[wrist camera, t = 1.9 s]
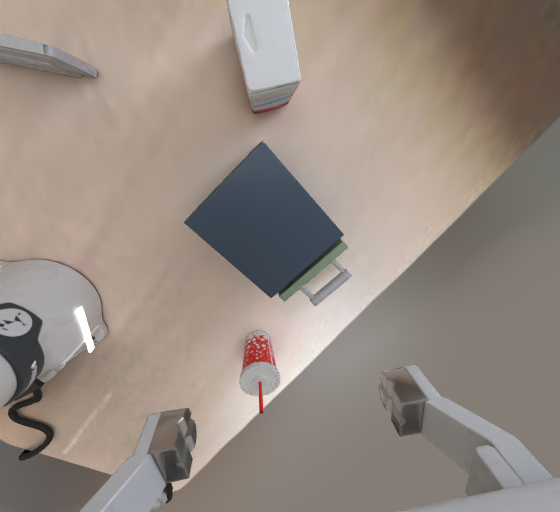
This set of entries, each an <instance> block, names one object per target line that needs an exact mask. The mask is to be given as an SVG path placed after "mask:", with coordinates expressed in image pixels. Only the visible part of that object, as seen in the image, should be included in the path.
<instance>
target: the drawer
mask: <svg viewBox="0 0 560 512" xmlns="http://www.w3.org/2000/svg"><path fill="white" fill-rule="evenodd" d="M347 248H348V247H347V245H346V244H345V243H344V242H343V241H342V240H341V239H339V240H338V241H336V242H335V243H334V244H333V245H332V246H331V247H330V248H328V249H327V250H326V251H325V252H324V253H323V254H322V255H320V256H319V257H318V258H317V259H316V260H315V261H313V262H312V263H311V264H310V265H309V266H308V267H307V268H305V269H304V270H303V271H302V272H301V273H300V274H299V275H297V276H296V277H295V278H294V279H293V280H292V281H290V282H289V283H288V284H287V285H286V286H285V287H284V288H282V289H281V290H280V291H279V292H278V293H279V297H280V298H281V299H282V300H284V301H286V300H287V299H288V298H289V297H291V296H292V295H293V294H294V293H295V292H296V291H298V290H299V289H300V290H301V291H302V292H303V293H305V294H306V295H307V296H308V297H309V298H310V301H311V302H312V303H313V305H315V306H316V305H318V304H319V303H320V302H321V301H322V300H324V299H325V298H326V297H327V296H328V295H330V294H331V293H332V292H333V291H334V290H336V289H337V288H338V287H339V286H341V285H342V284H343V283H344V282H345V281H347V280H348V279H349V278H350V277H351V276H352V275H351V274H350V273H349V272H348V270H347V269H344V268H343V267H342V266H341V265H340V264H339V263H338V262H337V261H336V260H335V258H336V257H337V256H339V255H340V254H341V253H342V252H343V251H344V250H346V249H347ZM330 262H332V263H333V264H334V265H335V266H336V267H337V268H338V269H339V270H340V271H341V273H340V274H338V275H337V276H336V277H335V278H334V279H332V280H331V281H330V282H329V283H328V284H327V285H325V286H324V287H323V288H322V289H321V290H319V291H318V292H317V293H316V294H315V295H312V294H311V293H310V292H309V291H308V290H307V289H306V288H305V287H304V286H303V285H305V284H306V283H307V282H308V281H309V280H310V279H312V278H313V277H314V276H315V275H316V274H318V273H319V272H320V271H321V270H322V269H323V268H325V267H326V266H327V265H328V264H329V263H330Z"/></svg>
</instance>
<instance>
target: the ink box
mask: <svg viewBox="0 0 560 512" xmlns="http://www.w3.org/2000/svg"><path fill="white" fill-rule="evenodd" d="M227 5H228V11H229V17H230V22H231V27H232V33H233V37H234V42H235V46H236V50H237V54H238V58H239V62H240V66H241V70H242V74H243V78H244V82H245V86H246V89H247V93H248V97H249V100H250V104H251V108H252V111H253V113H254V114H257V113H261V112H266V111H270V110H273V109H276V108H279V107H282V106H284V105H287V104H288V102H289V101H290V99H291V97H292V95H293V93H294V92H295V90H296V88H297V87H298V85H299V83H300V82H301V77H300V71H299V64H298V58H297V51H296V45H295V39H294V33H293V27H292V21H291V15H290V8H289V2H288V0H227Z"/></svg>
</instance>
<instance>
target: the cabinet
mask: <svg viewBox="0 0 560 512" xmlns="http://www.w3.org/2000/svg"><path fill="white" fill-rule="evenodd" d="M184 223H185V224H186V225H188V226H189V227H190V228H191V229H192V230H193V231H194V232H196V233H197V234H198V235H199V236H200V237H201V238H203V239H204V240H205V241H206V242H207V243H208V244H209V245H211V246H212V247H213V248H214V249H215V250H216V251H217V252H219V253H220V254H221V255H222V256H223V257H224V258H226V259H227V260H228V261H229V262H230V263H231V264H232V265H234V266H235V267H236V268H237V269H238V270H239V271H241V272H242V273H243V274H244V275H245V276H246V277H247V278H249V279H250V280H251V281H252V282H253V283H254V284H255V285H257V286H258V287H259V288H260V289H261V290H262V291H264V292H265V293H266V294H267V295H268V296H269V297H270V298H272V297H273V296H274V295H276V294H277V293H278V292H279V291H280V290H281V289H282V288H284V287H285V286H286V285H287V284H288V283H289V282H290V281H292V280H293V279H294V278H295V277H296V276H297V275H299V274H300V273H301V272H302V271H303V270H304V269H305V268H307V267H308V266H309V265H310V264H311V263H312V262H313V261H315V260H316V259H317V258H318V257H319V256H320V255H322V254H323V253H324V252H325V251H326V250H327V249H328V248H330V247H331V246H332V245H333V244H334V243H335V242H336V241H338V240H339V239H340V238H341V237H342V236H343V235H344V234H343V233H342V232H341V231H340V230H339V228H338V227H337V226H336V225H335V224H334V223H333V222H332V220H331V219H330V218H329V217H328V216H327V215H326V213H325V212H324V211H323V210H322V209H321V208H320V207H319V205H318V204H317V203H316V202H315V201H314V200H313V199H312V197H311V196H310V195H309V194H308V193H307V192H306V190H305V189H304V188H303V187H302V186H301V185H300V184H299V182H298V181H297V180H296V179H295V178H294V177H293V175H292V174H291V173H290V172H289V171H288V170H287V169H286V167H285V166H284V165H283V164H282V163H281V162H280V161H279V159H278V158H277V157H276V156H275V155H274V154H273V152H272V151H271V150H270V149H269V148H268V147H267V146H266V144H265V143H264V142H263V141H262V142H261V143H259V144H258V146H257V147H256V148H255V149H254V150H253V151H252V152H251V153H250V154H249V155H248V156H247V157H246V158H245V159H244V160H243V161H242V162H241V163H240V164H239V165H238V166H237V167H236V168H235V169H234V170H233V171H232V172H231V173H230V174H229V175H228V176H227V178H226V179H225V180H224V181H223V182H222V183H221V184H220V185H219V186H218V187H217V188H216V189H215V190H214V191H213V192H212V193H211V194H210V195H209V196H208V197H207V198H206V199H205V200H204V201H203V202H202V203H201V204H200V205H199V206H198V207H197V209H196V210H195V211H194V212H193V213H192V214H191V215H190V216H189V217H188V218H187V219H186V220H185V222H184Z"/></svg>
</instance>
